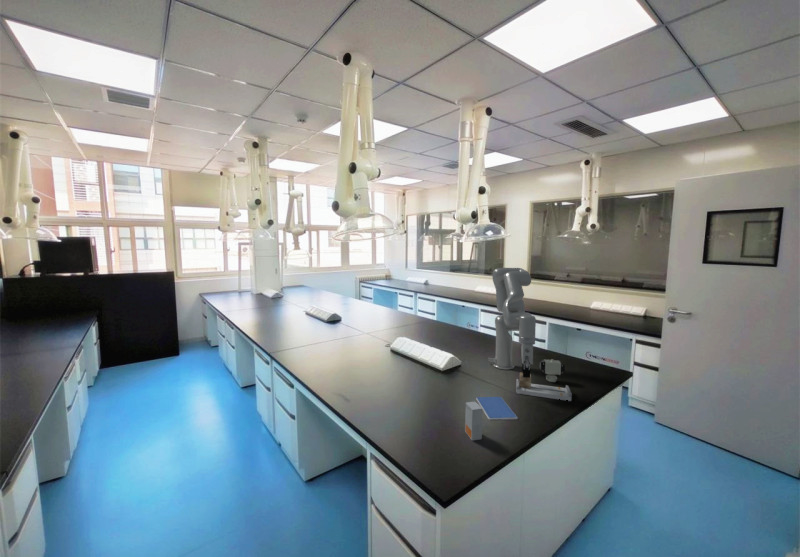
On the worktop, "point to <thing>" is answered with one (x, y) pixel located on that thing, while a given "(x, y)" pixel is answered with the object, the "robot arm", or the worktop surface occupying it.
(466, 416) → the skincare box
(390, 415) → the worktop surface
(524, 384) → the fader tab
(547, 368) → the pneumatic valve
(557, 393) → the fader track
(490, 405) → the tablet computer
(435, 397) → the worktop surface
